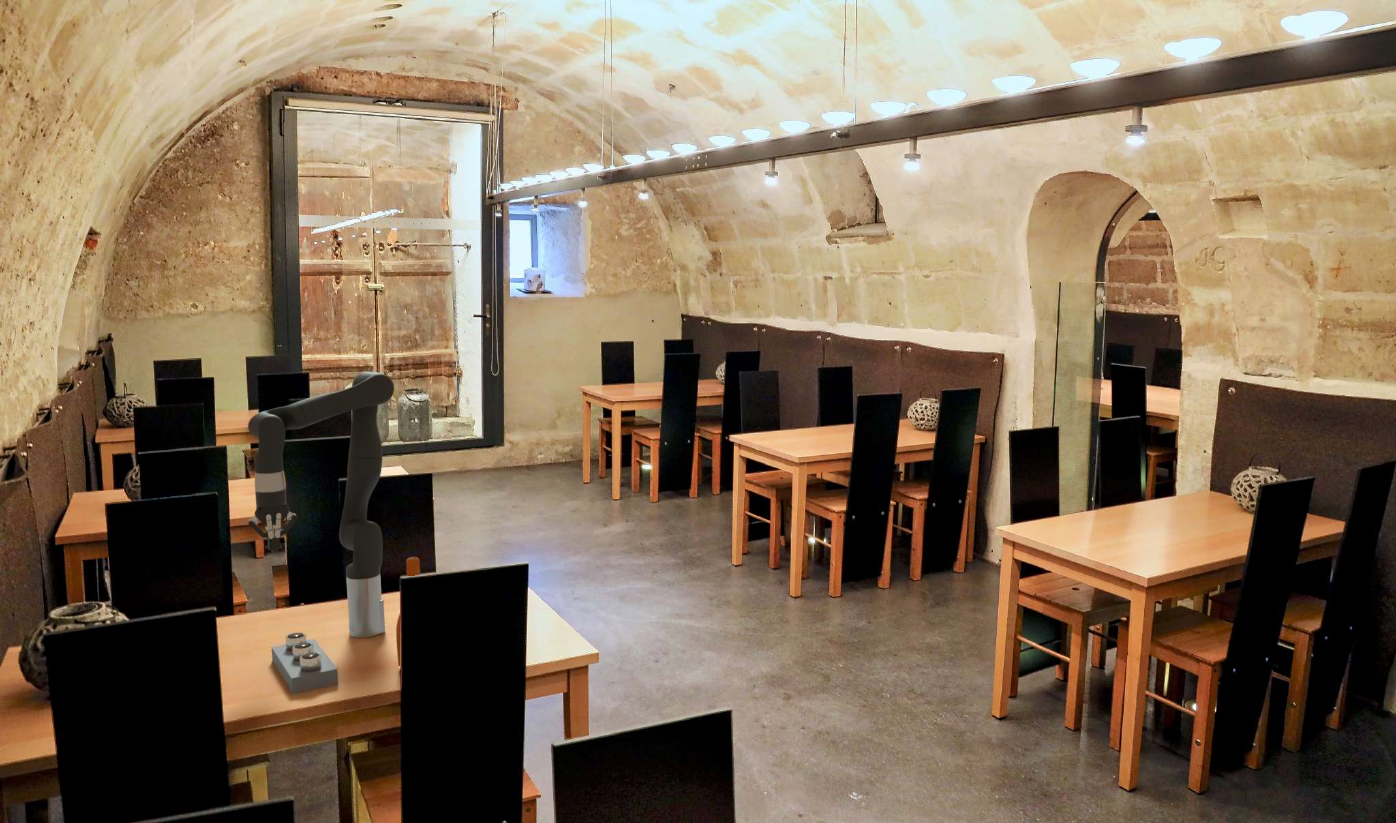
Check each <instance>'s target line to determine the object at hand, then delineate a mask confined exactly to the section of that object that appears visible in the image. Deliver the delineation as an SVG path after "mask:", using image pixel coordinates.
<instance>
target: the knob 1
mask: <svg viewBox="0 0 1396 823" xmlns="http://www.w3.org/2000/svg"><path fill="white" fill-rule="evenodd" d="M306 635H307V634H306V633H304V632H293V633H289V634H287V635H286V636H285V644H286V649H288V650H293V646H294V645H295V644H298V643H303V642H306V640H307V636H306Z"/></svg>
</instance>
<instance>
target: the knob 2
mask: <svg viewBox="0 0 1396 823" xmlns="http://www.w3.org/2000/svg"><path fill="white" fill-rule="evenodd" d="M312 652H313V644H312V643H309V642H303V643H298V644H295V645H294V646H293V659H294V660H298V661H300V656H301V655H303V654H306V653H312Z"/></svg>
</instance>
